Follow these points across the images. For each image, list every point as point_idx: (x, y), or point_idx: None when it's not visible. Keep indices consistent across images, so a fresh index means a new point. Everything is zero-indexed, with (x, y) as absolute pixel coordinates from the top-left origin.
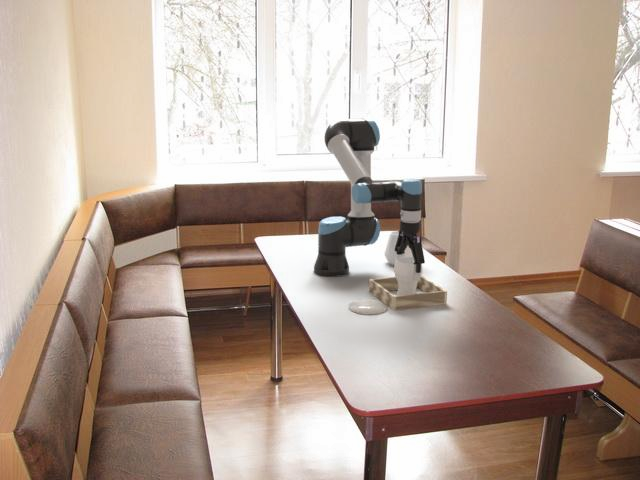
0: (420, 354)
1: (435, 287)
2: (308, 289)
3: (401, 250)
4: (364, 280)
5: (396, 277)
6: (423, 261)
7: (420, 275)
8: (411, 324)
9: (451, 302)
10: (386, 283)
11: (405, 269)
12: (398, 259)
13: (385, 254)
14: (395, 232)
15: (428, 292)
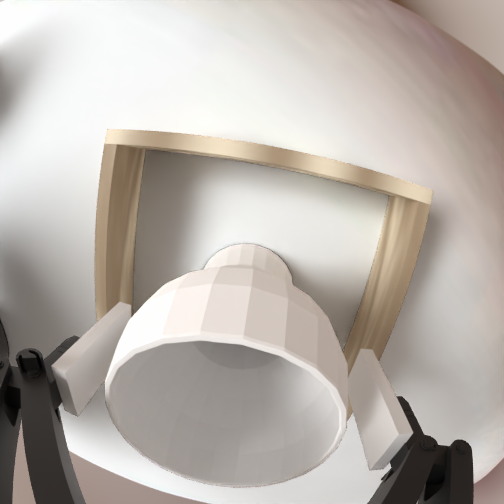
0: (494, 421)
1: (333, 177)
2: (87, 442)
3: (60, 434)
4: (30, 297)
5: (225, 403)
6: (464, 457)
7: (382, 370)
8: (433, 397)
9: (396, 151)
10: None
11: (298, 448)
12: (132, 429)
13: None
14: None
15: (395, 292)
